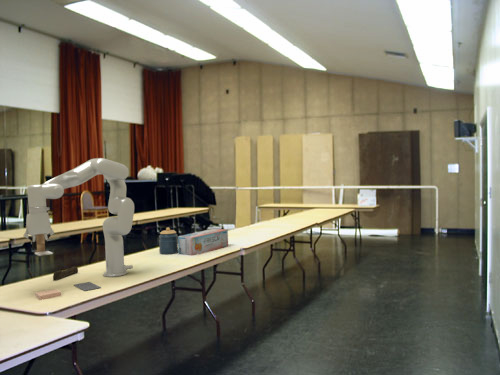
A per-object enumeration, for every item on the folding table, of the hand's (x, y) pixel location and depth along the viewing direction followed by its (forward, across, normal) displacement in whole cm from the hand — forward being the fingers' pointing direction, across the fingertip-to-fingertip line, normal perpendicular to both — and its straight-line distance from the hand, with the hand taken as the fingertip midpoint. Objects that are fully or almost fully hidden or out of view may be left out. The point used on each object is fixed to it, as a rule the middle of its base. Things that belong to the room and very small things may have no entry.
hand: (40, 248), depth 209 cm
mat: (+21, -18, +8) cm, 29 cm away
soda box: (+23, -116, -36) cm, 124 cm away
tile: (+19, +1, +8) cm, 21 cm away
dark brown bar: (+21, -18, -23) cm, 36 cm away
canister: (+22, -93, -46) cm, 106 cm away
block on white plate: (+2, 0, +4) cm, 4 cm away
